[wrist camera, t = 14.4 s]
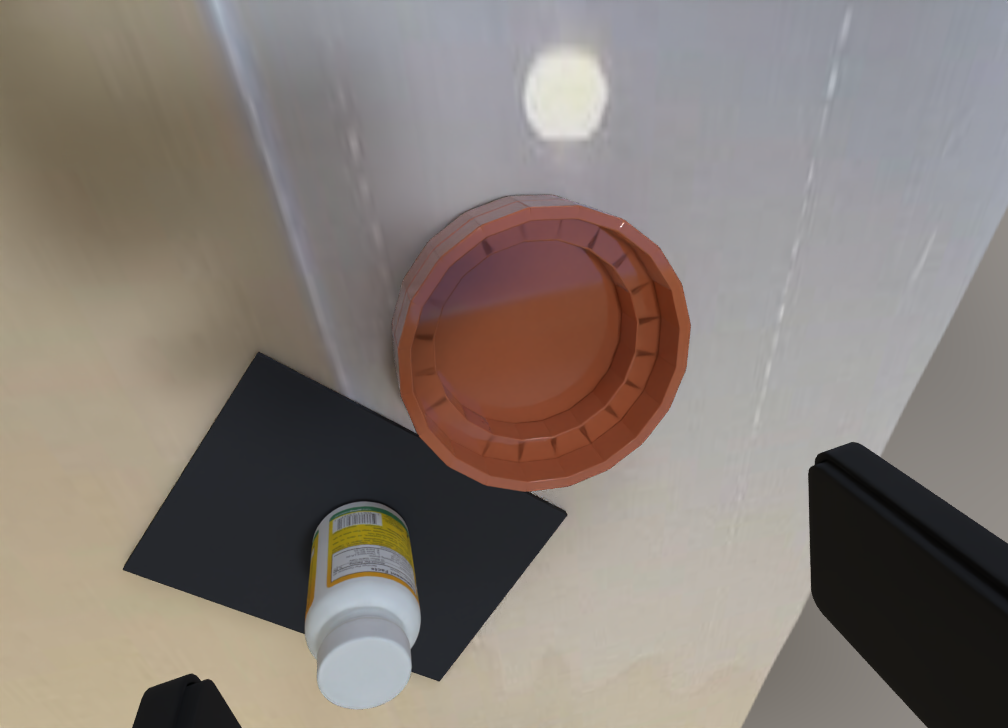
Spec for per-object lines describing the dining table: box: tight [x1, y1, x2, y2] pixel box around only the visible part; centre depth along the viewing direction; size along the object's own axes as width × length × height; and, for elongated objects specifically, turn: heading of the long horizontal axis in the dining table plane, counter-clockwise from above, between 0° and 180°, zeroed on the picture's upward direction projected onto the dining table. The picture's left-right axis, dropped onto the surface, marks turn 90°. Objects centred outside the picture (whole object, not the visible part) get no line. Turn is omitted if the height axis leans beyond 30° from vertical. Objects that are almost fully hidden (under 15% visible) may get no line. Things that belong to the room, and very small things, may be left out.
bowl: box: [392, 195, 691, 492], centre depth 32 cm, size 14×14×4 cm
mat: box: [123, 352, 567, 681], centre depth 36 cm, size 20×14×1 cm
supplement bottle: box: [305, 501, 421, 709], centre depth 32 cm, size 5×5×10 cm
